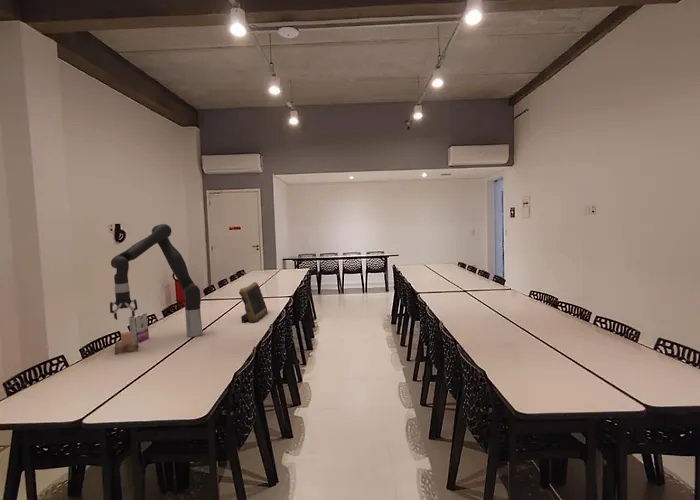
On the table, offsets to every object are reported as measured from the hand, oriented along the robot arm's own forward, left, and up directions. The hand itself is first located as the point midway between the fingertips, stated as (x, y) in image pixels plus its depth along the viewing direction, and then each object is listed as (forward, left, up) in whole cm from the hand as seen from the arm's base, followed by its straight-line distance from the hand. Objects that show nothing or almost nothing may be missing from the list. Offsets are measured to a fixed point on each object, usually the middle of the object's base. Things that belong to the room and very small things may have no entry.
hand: (124, 318), depth 260 cm
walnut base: (0, 0, -19) cm, 19 cm away
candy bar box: (-7, -19, -19) cm, 28 cm away
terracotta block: (0, 0, -15) cm, 15 cm away
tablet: (-85, -40, -19) cm, 96 cm away
